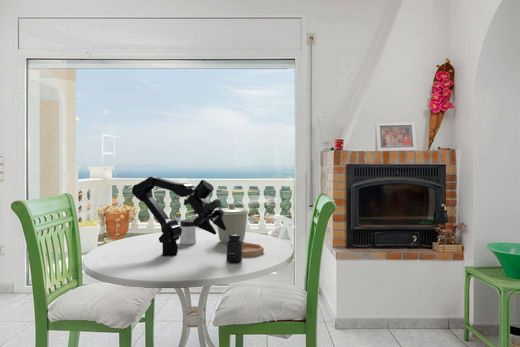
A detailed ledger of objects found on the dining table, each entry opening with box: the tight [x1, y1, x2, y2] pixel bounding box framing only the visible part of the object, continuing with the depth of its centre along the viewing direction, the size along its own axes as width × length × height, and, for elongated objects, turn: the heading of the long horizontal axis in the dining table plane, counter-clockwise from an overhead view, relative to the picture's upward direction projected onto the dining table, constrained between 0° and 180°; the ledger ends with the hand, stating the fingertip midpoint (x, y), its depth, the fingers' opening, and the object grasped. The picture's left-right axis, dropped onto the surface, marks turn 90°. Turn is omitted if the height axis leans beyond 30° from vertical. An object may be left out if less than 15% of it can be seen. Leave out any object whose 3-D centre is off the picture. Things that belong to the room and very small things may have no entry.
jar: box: [179, 219, 197, 246], centre depth 194 cm, size 9×8×12 cm
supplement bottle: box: [225, 233, 243, 265], centre depth 158 cm, size 7×7×12 cm
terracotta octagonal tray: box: [225, 242, 264, 258], centre depth 175 cm, size 17×17×2 cm
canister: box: [216, 202, 249, 244], centre depth 197 cm, size 18×18×21 cm
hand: (220, 231), depth 160 cm, fingers open, 9 cm apart
